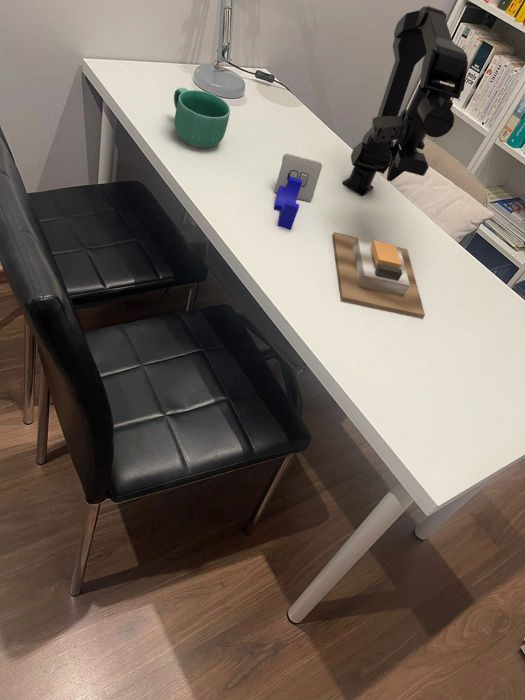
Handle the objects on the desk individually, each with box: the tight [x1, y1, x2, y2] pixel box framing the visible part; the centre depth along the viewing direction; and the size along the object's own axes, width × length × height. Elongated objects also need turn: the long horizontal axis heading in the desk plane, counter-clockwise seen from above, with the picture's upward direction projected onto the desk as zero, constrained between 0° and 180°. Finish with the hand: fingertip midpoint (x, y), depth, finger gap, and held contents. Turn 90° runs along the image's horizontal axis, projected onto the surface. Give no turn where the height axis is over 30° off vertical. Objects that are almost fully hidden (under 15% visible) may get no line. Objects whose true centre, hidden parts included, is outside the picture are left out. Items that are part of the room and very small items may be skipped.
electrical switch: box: [273, 152, 323, 202], centre depth 135 cm, size 9×5×9 cm, turn 90°
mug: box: [173, 87, 231, 148], centre depth 140 cm, size 17×12×10 cm
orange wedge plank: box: [371, 240, 402, 269], centre depth 120 cm, size 7×5×2 cm
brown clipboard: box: [331, 231, 426, 319], centre depth 122 cm, size 22×18×6 cm
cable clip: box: [273, 176, 302, 231], centre depth 129 cm, size 12×4×6 cm, turn 174°
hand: (388, 180), depth 127 cm, fingers closed
